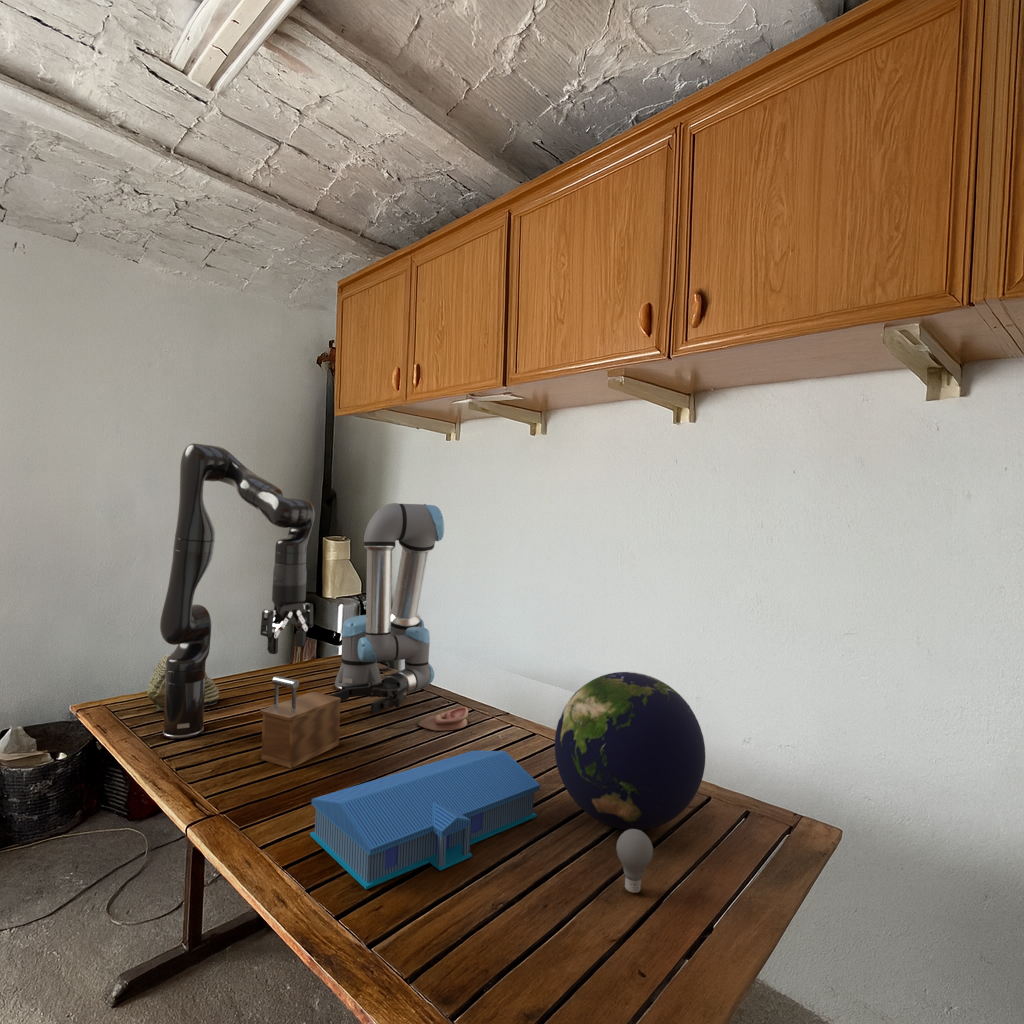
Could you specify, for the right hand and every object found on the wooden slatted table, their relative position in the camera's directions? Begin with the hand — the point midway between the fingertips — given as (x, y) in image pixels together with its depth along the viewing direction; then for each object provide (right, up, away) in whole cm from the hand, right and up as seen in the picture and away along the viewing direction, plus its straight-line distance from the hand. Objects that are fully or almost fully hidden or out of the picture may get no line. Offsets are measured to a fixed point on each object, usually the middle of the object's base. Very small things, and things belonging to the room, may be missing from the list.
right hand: (351, 704), depth 172 cm
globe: (+67, -11, -44) cm, 80 cm away
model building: (+28, -9, -50) cm, 58 cm away
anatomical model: (+24, -8, +7) cm, 26 cm away
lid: (-8, +4, -17) cm, 19 cm away
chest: (-8, -7, -16) cm, 19 cm away
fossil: (-52, -5, +13) cm, 54 cm away
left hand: (-10, +20, -22) cm, 31 cm away
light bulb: (+64, -11, -67) cm, 93 cm away
